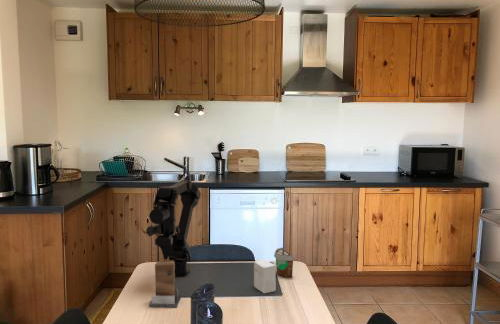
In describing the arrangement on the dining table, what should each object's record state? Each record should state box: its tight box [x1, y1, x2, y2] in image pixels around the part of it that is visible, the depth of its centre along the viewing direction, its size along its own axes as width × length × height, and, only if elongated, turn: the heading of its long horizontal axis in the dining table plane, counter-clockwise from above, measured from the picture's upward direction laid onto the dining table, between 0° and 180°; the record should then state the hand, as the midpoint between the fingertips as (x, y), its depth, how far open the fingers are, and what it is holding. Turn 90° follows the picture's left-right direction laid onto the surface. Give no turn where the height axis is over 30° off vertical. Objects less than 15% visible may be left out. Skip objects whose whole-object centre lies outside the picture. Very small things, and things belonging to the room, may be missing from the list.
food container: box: [273, 247, 295, 278], centre depth 179 cm, size 12×6×10 cm, turn 17°
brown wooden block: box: [154, 261, 176, 295], centre depth 150 cm, size 4×6×14 cm, turn 88°
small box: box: [253, 259, 277, 294], centre depth 164 cm, size 8×6×10 cm
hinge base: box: [148, 287, 182, 309], centre depth 151 cm, size 8×10×4 cm
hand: (168, 255), depth 167 cm, fingers open, 9 cm apart
